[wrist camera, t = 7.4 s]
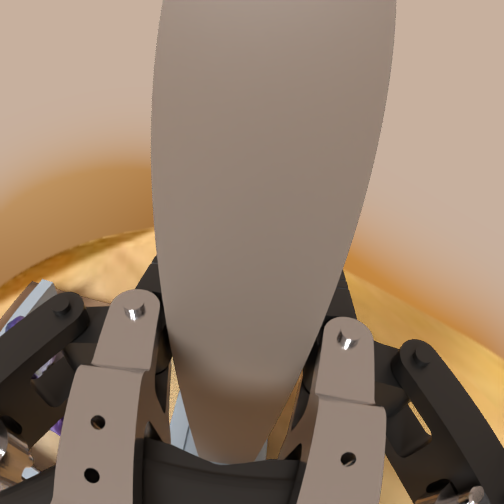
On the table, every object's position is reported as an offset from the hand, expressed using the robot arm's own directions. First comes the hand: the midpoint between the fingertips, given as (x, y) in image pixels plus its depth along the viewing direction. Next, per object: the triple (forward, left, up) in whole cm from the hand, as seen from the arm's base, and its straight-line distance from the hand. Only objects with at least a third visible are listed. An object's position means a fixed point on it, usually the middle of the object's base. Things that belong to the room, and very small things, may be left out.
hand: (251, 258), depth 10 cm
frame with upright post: (+9, -3, -14) cm, 16 cm away
